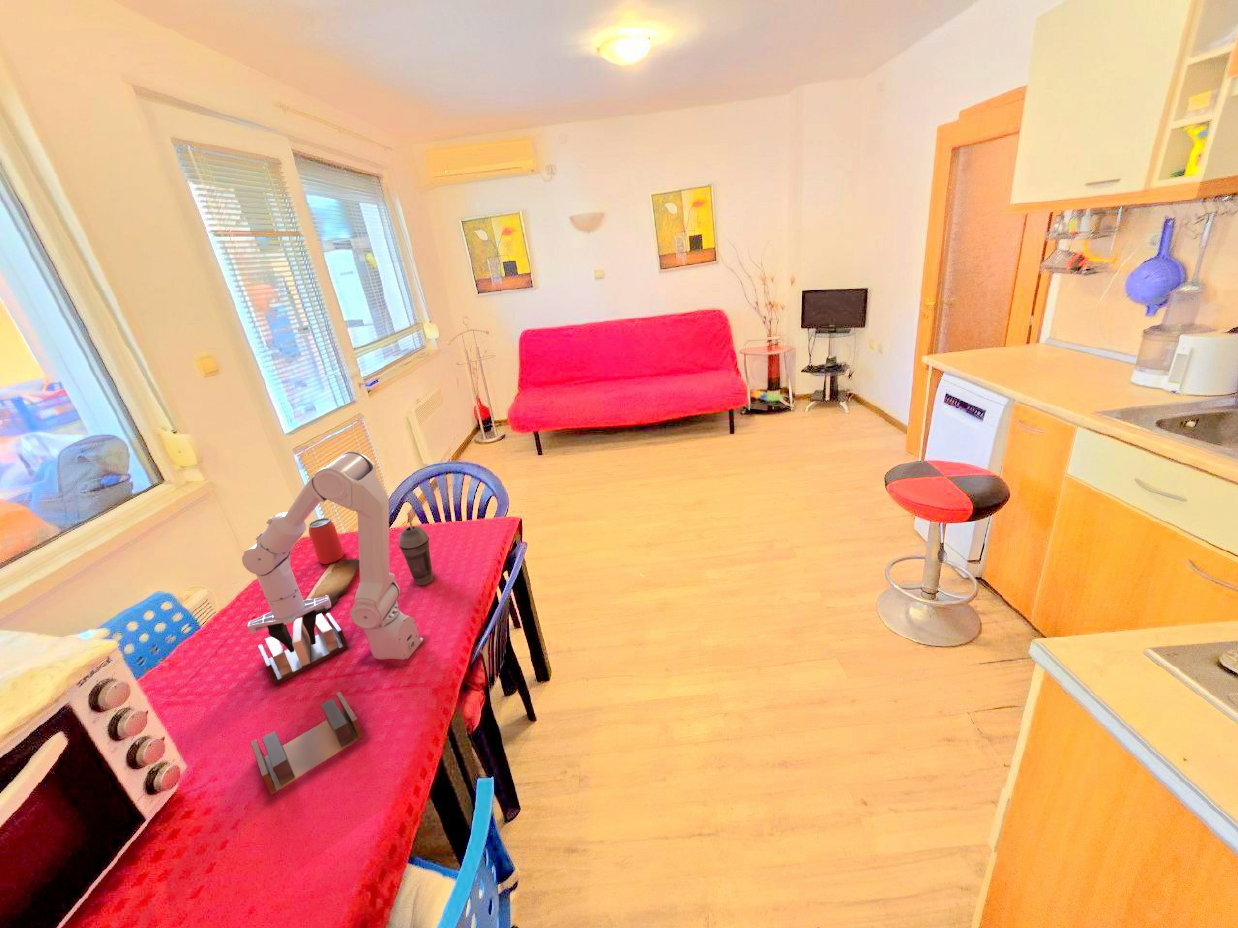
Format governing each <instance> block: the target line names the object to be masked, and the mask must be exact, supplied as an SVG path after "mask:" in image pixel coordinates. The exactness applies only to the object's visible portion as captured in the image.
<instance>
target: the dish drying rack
mask: <svg viewBox="0 0 1238 928" xmlns="http://www.w3.org/2000/svg"><path fill="white" fill-rule="evenodd" d="M314 629H315V630H316V633H317V634H315V638H316V644H314V645H312V644H311V642H310V663H309V664H307V665H304V666H301V664H300V662H299V659H298V657H297V654H296V652H295V649H294V652H291V653H290V651H289V650H288V648H286V649H285V650H284V648H283V645H282V643H281V642H280V641H279V640H277V639H275V638H273V637H271V636H269V637H267V638H264V641H265V643H266V646H267V648H268V651H269V652H270V656H271V657H269V656H268V654H267V651H266V649H265V647H264V645H263V643H260V644H258V645H257V649H258V650H259V652H260V655H261V657H262V659H263V662H264V664H265V667H266V669H267V670H268V674H269V676H270V678H271V680H272V681H273V684H274V686H277V685H279V684H281V683H283V682H285V681H287V680H289V679H292V678H293V677H295V676H297V675H300V673H303V672H304V671H307V670H308V669H310V668H313V667H315V666H317V665H318V664H320V663H322V662H324V661H326V660H328V659H330V658H332V657H334V656H337V654H339V653H342V652H343V651H346V650H348V649H349V646H348V643H347V640H346V637H345V634H344V631H343V629H342V628H341V626H340V625H339V623H337V621H336V620H335V618H334V617H333V615H332V614H331V612H327V613H326V614H325V616H324V615H323V612H321V613H318V614H316V623H315V628H314Z"/></svg>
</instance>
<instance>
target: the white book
mask: <svg viewBox="0 0 1238 928" xmlns="http://www.w3.org/2000/svg"><path fill="white" fill-rule="evenodd" d="M292 623H293V624H292V625H293V626H292V644H293V647H294V649H295V652H296V654H297V657H298V659H299V662H300V664H301V666H304V665H307V664H309V663H310V638H309V635H308V632H307V630H306V628H305V626H304V624H303V616H300V617H298V618H296V620H295V621H294V622H292Z"/></svg>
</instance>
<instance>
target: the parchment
mask: <svg viewBox="0 0 1238 928" xmlns="http://www.w3.org/2000/svg"><path fill="white" fill-rule="evenodd" d="M358 567H359V558H349V559H343V560H342V561H336V562H333V563H330V564H329V566H328V567H327V568H326V569H325V571H324V572H323V574H322V575H321V576H320V577H319V579H318V581H317V582H316V583H315V585H314V586H313V588H312V590H311V591H310V593H309V594H308V596H306V598H305V600H308V599H315V598H320V597H325V596H329V598H330V601H331V607H330V608H327V609H326V608H322V609H319V610H316V613H320V612H321V613H326V612H327V611H329V609H332V607H333V606H334V605H336V603H337V601H338V599H339V597H340V596H342V595H344V594H345V593H346V590H347V589H348V586H349V585H350V583H351V581H352V580H353V579H354V577H355V576H356V572H357V571H358Z"/></svg>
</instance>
